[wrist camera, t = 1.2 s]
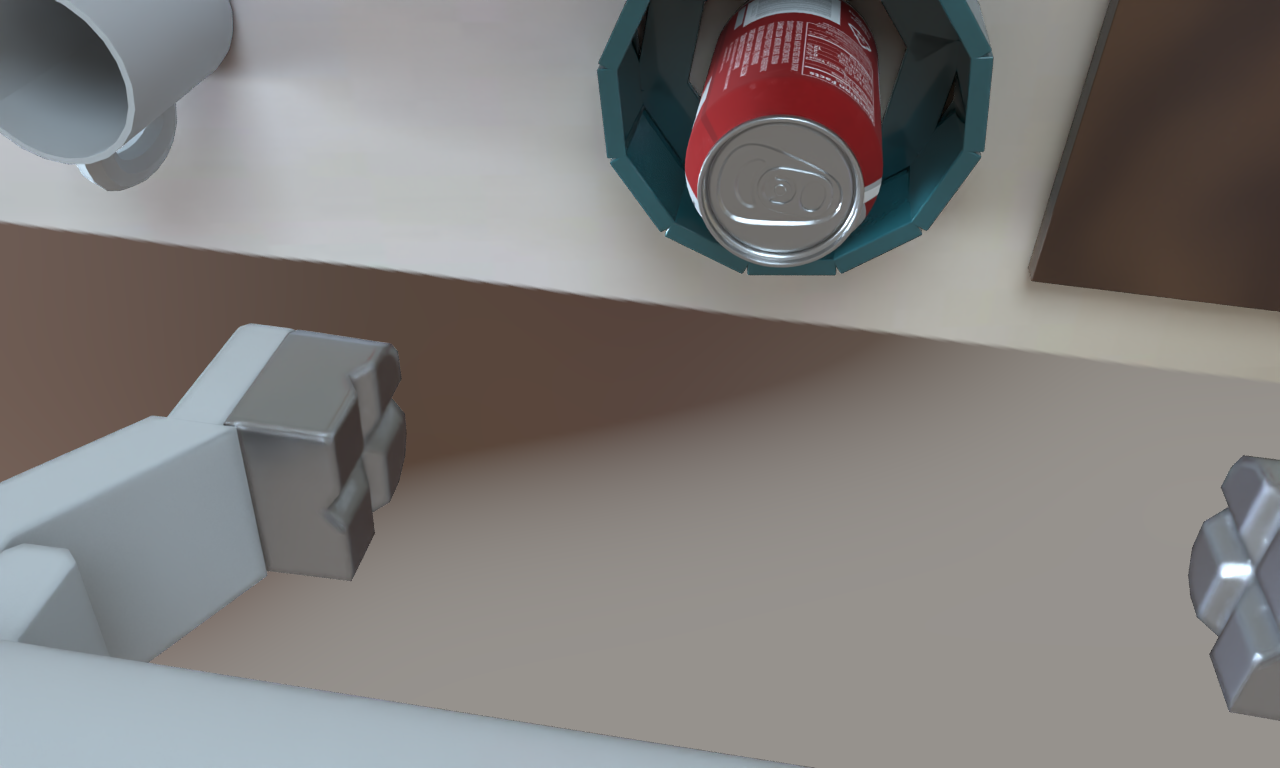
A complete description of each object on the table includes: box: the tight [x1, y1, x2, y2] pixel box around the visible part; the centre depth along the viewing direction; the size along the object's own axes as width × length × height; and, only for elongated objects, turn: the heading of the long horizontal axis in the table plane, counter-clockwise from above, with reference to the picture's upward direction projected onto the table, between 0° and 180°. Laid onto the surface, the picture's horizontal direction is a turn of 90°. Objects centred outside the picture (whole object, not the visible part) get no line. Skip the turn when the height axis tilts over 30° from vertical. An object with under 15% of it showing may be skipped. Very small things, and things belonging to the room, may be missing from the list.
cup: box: [0, 0, 233, 191], centre depth 46 cm, size 7×10×9 cm
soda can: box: [685, 0, 883, 267], centre depth 41 cm, size 7×7×12 cm
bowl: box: [597, 0, 994, 275], centre depth 44 cm, size 15×15×5 cm
